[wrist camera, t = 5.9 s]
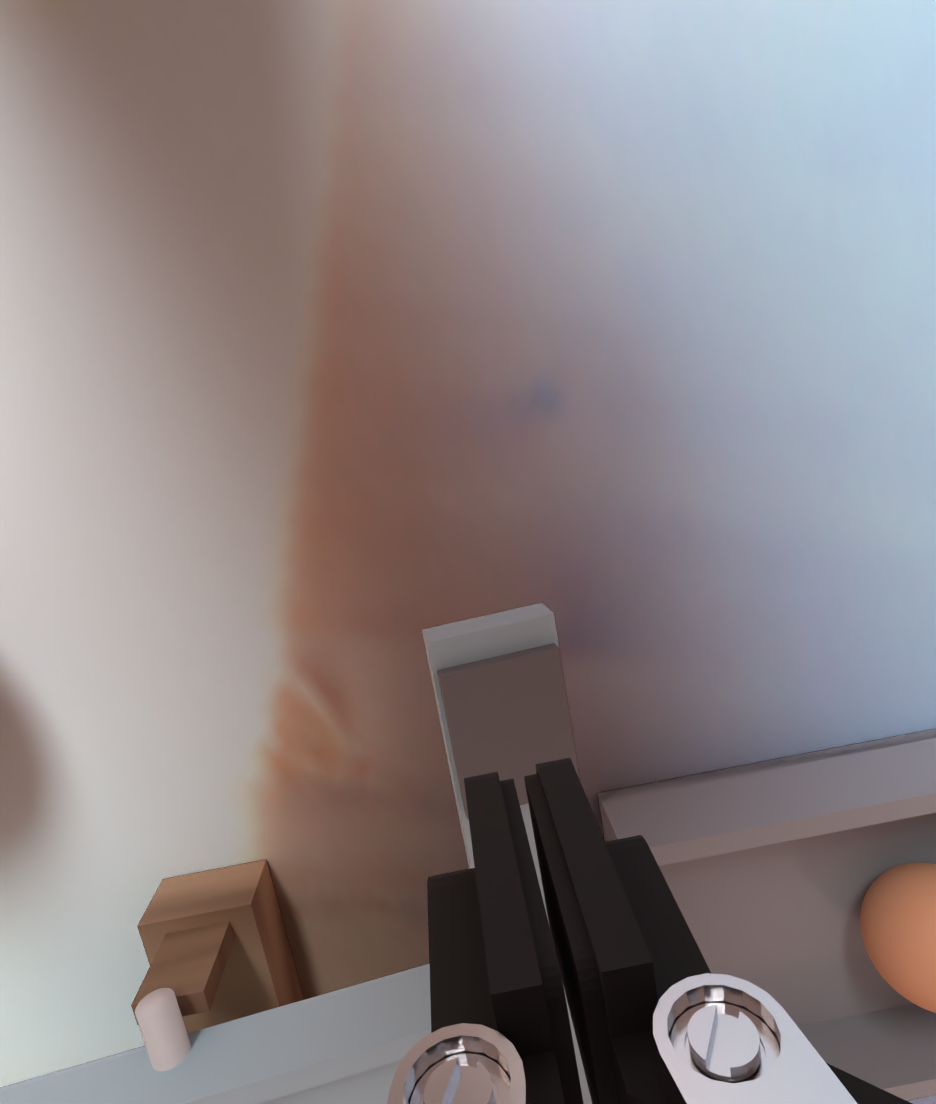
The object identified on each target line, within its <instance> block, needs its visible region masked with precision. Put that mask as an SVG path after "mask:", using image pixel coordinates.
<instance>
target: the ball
mask: <svg viewBox="0 0 936 1104" xmlns="http://www.w3.org/2000/svg"><path fill="white" fill-rule="evenodd" d="M860 928H861V935H862V939H863V942H864V946H865V948H866V951H867V953H868V955H869V957H870V959H871V961H872V963H873V964H874V966H875V968H876V969H877V971H878V972H879V973H880V975H881V976H882V977H883V978H884V979H885V981H886V982H887V983H888V984H889V985H890V986H891V987H892V988H893V989H894V990H896V991H897V992H898V993H899V994H900V995H902V996H903V997H905V998H906V999H908V1000H909V1001H911V1002H912V1003H914V1004H916V1005H917V1006H919V1007H921V1008H923V1009H926V1010H928V1011H931V1012H934V1013H936V864H934V863H920V862H916V863H908V864H903V865H899V866H896V867H894V868H891V869H890V870H888V871H886V872H884V873H883V874H881V875H880V876H879V877H878V878H877V879H876V880H875V881H874V882H873V883H872V884H871V886H870V887H869V889H868V890H867V892H866V894H865V897H864V899H863V902H862V906H861V912H860Z"/></svg>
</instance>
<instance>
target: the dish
mask: <svg viewBox="0 0 936 1104" xmlns="http://www.w3.org/2000/svg"><path fill="white" fill-rule="evenodd" d="M598 799H599V805H600V812H601V819H602V825H603V832H604V839H605V842H607V841H612V840H617V839H622V838H627V837H632V836H637V835H641V836H643V837H644V839H645V840H646V842H647V844H648V846H649V848H650V850H651V852H652V854H653V856H654V858H655V860H656V862H657V864H658V866H659V868H660V870H661V872H662V874H663V876H664V878H665V880H666V882H667V884H668V886H669V888H670V890H671V892H672V894H673V896H674V898H675V900H676V902H677V905H678V907H679V909H680V911H681V913H682V915H683V917H684V919H685V921H686V923H687V925H688V927H689V929H690V931H691V933H692V935H693V937H694V939H695V941H696V943H697V945H698V947H699V949H700V951H701V953H702V955H703V957H704V959H705V961H706V963H707V965H708V967H709V969H710V971H711V973H712V974H725V975H730V976H733V977H737V978H740V979H743V980H746V981H749V982H751V983H752V984H754V985H756V986H757V987H759V988H761V989H762V990H764V991H766V992H768V993H769V994H770V995H771V996H772V997H773V998H774V999H775V1000H776V1001H777V1002H778V1003H779V1004H780V1005H781V1006H782V1007H783V1008H784V1010H785V1011H786V1012H787V1013H788V1015H789V1016H790V1017H791V1019H792V1020H793V1021H794V1023H795V1024H796V1025H797V1026H798V1028H799V1029H800V1030H801V1032H802V1033H803V1034H804V1035H805V1037H806V1038H807V1039H808V1041H809V1042H810V1043H811V1044H812V1046H813V1047H814V1048H815V1050H816V1051H817V1052H818V1053H819V1055H820V1056H821V1057H822V1059H823V1060H824V1061H825V1062H826V1063H828V1064H830V1065H832V1066H834V1067H836V1068H839V1069H841V1070H843V1071H845V1072H847V1073H849V1074H851V1075H853V1076H855V1077H857V1078H859V1079H862V1080H864V1081H866V1082H868V1083H870V1084H872V1085H874V1086H876V1087H878V1088H880V1089H883V1090H885V1091H887V1092H889V1093H891V1094H893V1095H895V1096H897V1097H899V1098H901V1099H903V1100H906V1101H907V1100H912V1099H917V1098H922V1097H927V1096H932V1095H936V1013H934V1012H931V1011H928V1010H926V1009H923V1008H921V1007H919V1006H917V1005H916V1004H914V1003H912V1002H911V1001H909V1000H908V999H906V998H905V997H903V996H902V995H900V994H899V993H898V992H897V991H896V990H894V989H893V988H892V987H891V986H890V985H889V984H888V983H887V982H886V981H885V979H884V978H883V977H882V976H881V975H880V973H879V972H878V971H877V969H876V968H875V966H874V964H873V963H872V961H871V959H870V957H869V955H868V953H867V951H866V948H865V946H864V942H863V939H862V935H861V928H860V912H861V906H862V902H863V899H864V897H865V894H866V892H867V890H868V889H869V887H870V886H871V884H872V883H873V882H874V881H875V880H876V879H877V878H878V877H879V876H880V875H881V874H883V873H884V872H886V871H888V870H890V869H891V868H894V867H896V866H899V865H903V864H908V863H916V862H920V863H934V864H936V729H931V730H926V731H921V732H915V733H910V734H905V735H900V736H894V737H889V738H884V739H879V740H873V741H868V742H863V743H858V744H852V745H847V746H842V747H837V748H832V749H826V750H821V751H816V752H811V753H805V754H800V755H795V756H790V757H784V758H779V759H774V760H769V761H763V762H758V763H753V764H748V765H743V766H737V767H732V768H727V769H722V770H716V771H711V772H706V773H701V774H695V775H690V776H685V777H680V778H674V779H669V780H664V781H659V782H654V783H648V784H643V785H638V786H633V787H627V788H622V789H617V790H612V791H606V792H601V793H598Z"/></svg>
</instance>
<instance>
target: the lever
mask: <svg viewBox="0 0 936 1104" xmlns="http://www.w3.org/2000/svg"><path fill="white" fill-rule="evenodd" d="M422 634H423V639H424V644H425V649H426V654H427V659H428V664H429V669H430V674H431V679H432V684H433V689H434V694H435V699H436V704H437V709H438V714H439V719H440V724H441V729H442V734H443V739H444V744H445V750H446V755H447V760H448V765H449V770H450V775H451V780H452V785H453V790H454V795H455V800H456V805H457V810H458V815H459V820H460V825H461V830H462V835H463V840H464V845H465V850H466V855H467V860H468V865H469V869H471V868H475V866H474V858H473V850H472V842H471V833H470V825H469V817H468V809H467V801H466V793H465V785H464V778H467V777H472V776H477V775H482V774H487V773H492V772H498V775H499V779H500V781H502V780H507V779H512V778H513V779H514V783H515V787H516V791H517V795H518V800H519V804H520V808H521V812H522V816H523V820H524V824H525V828H526V832H527V836H528V841H529V845H530V849H531V853H532V857H533V861H534V865H535V869H536V873H537V877H538V881H539V886H540V890H541V894H542V898H543V902H544V906H545V910H546V914H547V909H546V903H545V897H544V891H543V886H542V880H541V874H540V868H539V862H538V857H537V851H536V845H535V839H534V833H533V827H532V822H531V816H530V810H529V804H528V798H527V793H526V787H525V780H524V776H528V775H533V774H536V764H539V763H544V762H549V761H554V760H559V759H564V758H570V759H571V761H572V763H573V765H574V768H575V770H576V773H577V775H578V778H579V772H578V765H577V759H576V752H575V746H574V739H573V733H572V726H571V720H570V714H569V707H568V701H567V694H566V688H565V681H564V675H563V668H562V662H561V656H560V649H559V643H558V636H557V630H556V624H555V617H554V613H553V612H552V611H551V610H549V609H548V608H547V607H546V606H545V605H544V604H543V603H538V604H533V605H529V606H524V607H520V608H516V609H511V610H507V611H502V612H498V613H493V614H489V615H484V616H480V617H475V618H471V619H467V620H462V621H458V622H453V623H449V624H444V625H440V626H435V627H431V628H426V629H422ZM579 780H580V778H579ZM547 918H548V915H547ZM548 922H549V920H548ZM549 927H550V926H549ZM563 987H564V986H563ZM564 992H565V990H564ZM565 998H566V994H565ZM566 1003H567V1009H568V1015H569V1021H570V1027H571V1033H572V1038H573V1044H574V1050H575V1056H576V1062H577V1068H578V1074H579V1080H580V1086H581V1091H582V1097H583V1103H584V1104H592V1101H591V1097H590V1093H589V1088H588V1084H587V1080H586V1076H585V1072H584V1068H583V1064H582V1060H581V1056H580V1051H579V1047H578V1043H577V1039H576V1035H575V1031H574V1027H573V1023H572V1019H571V1015H570V1010H569V1006H568V1002H567V998H566ZM135 1015H136V1018H137V1021H138V1024H139V1027H140V1030H141V1033H142V1036H143V1040H144V1043H145V1046H143V1047H139V1048H136V1049H132V1050H129V1051H125V1052H122V1053H118V1054H115V1055H112V1056H108V1057H105V1058H101V1059H98V1060H94V1061H91V1062H87V1063H84V1064H80V1065H77V1066H73V1067H70V1068H67V1069H63V1070H60V1071H56V1072H53V1073H49V1074H46V1075H42V1076H39V1077H35V1078H32V1079H29V1080H25V1081H22V1082H18V1083H15V1084H11V1085H8V1086H4V1087H1V1088H0V1104H387V1101H388V1095H389V1090H390V1087H391V1084H392V1081H393V1078H394V1075H395V1072H396V1069H397V1067H398V1066H399V1064H400V1063H401V1061H402V1060H403V1058H404V1057H405V1055H406V1054H407V1052H408V1051H409V1050H410V1049H411V1048H412V1047H413V1046H415V1045H416V1044H417V1043H418V1042H419V1041H420V1040H421V1039H422V1038H424V1037H425V1036H427V1035H429V1034H431V1001H430V964H426V965H423V966H419V967H416V968H412V969H409V970H405V971H402V972H398V973H395V974H391V975H388V976H384V977H381V978H378V979H374V980H371V981H367V982H364V983H360V984H357V985H353V986H350V987H346V988H343V989H340V990H336V991H333V992H329V993H326V994H322V995H319V996H315V997H312V998H308V999H305V1000H302V1001H298V1002H295V1003H291V1004H288V1005H284V1006H281V1007H277V1008H274V1009H270V1010H267V1011H264V1012H260V1013H257V1014H253V1015H250V1016H246V1017H243V1018H239V1019H236V1020H232V1021H229V1022H226V1023H222V1024H219V1025H215V1026H212V1027H208V1028H205V1029H201V1030H198V1031H194V1032H191V1033H188V1034H187V1031H186V1028H185V1025H184V1022H183V1018H182V1015H181V1012H180V1009H179V1006H178V1002H177V999H176V996H175V993H174V991H173V990H172V989H170V988H160V989H157V990H155V991H153V992H151V993H149V994H148V995H146V996H145V997H144V998H143V999H142V1000H141V1001H140V1002H139V1003H138V1005H137V1007H136V1009H135Z"/></svg>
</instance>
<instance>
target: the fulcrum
mask: <svg viewBox="0 0 936 1104" xmlns="http://www.w3.org/2000/svg"><path fill="white" fill-rule="evenodd" d="M138 929H139V933H140V936H141V939H142V942H143V945H144V948H145V951H146V954H147V958H148V961H149V964H150V968H149V970H148V972H147V974H146V976H145V978H144V980H143V982H142V984H141V986H140V988H139V991H138V993H137V995H136V997H135V999H134V1001H133V1003H132V1005H131V1006H132V1009H133V1012H134V1015H135V1009H136V1007H137V1005H138V1003H139V1002H140V1001H141V1000H142V999H143V998H144V997H145V996H146V995H148V994H149V993H151V992H153V991H155V990H157V989H160V988H170V989H172V990H173V991H174V993H175V996H176V999H177V1002H178V1006H179V1009H180V1012H181V1015H182V1018H183V1022H184V1025H185V1028H186V1031H187V1034H188V1033H191V1032H194V1031H198V1030H201V1029H205V1028H208V1027H212V1026H215V1025H219V1024H222V1023H226V1022H229V1021H232V1020H236V1019H239V1018H243V1017H246V1016H250V1015H253V1014H257V1013H260V1012H264V1011H267V1010H270V1009H274V1008H277V1007H281V1006H284V1005H288V1004H291V1003H295V1002H298V1001H302V1000H304V998H303V995H302V991H301V987H300V984H299V980H298V976H297V972H296V969H295V965H294V961H293V957H292V954H291V950H290V946H289V943H288V939H287V935H286V931H285V928H284V924H283V920H282V917H281V913H280V909H279V905H278V902H277V898H276V894H275V890H274V887H273V883H272V879H271V876H270V872H269V868H268V864H267V861H266V860H261V861H255V862H250V863H245V864H240V865H235V866H229V867H224V868H219V869H214V870H208V871H203V872H198V873H193V874H187V875H182V876H177V877H172V878H166V879H163V880H162V882H161V883H160V885H159V887H158V889H157V891H156V893H155V895H154V896H153V898H152V900H151V902H150V904H149V906H148V907H147V909H146V911H145V913H144V915H143V917H142V918H141V920H140V922H139V924H138ZM135 1018H136V1015H135ZM136 1021H137V1018H136ZM137 1024H138V1021H137ZM138 1025H139V1024H138Z"/></svg>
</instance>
